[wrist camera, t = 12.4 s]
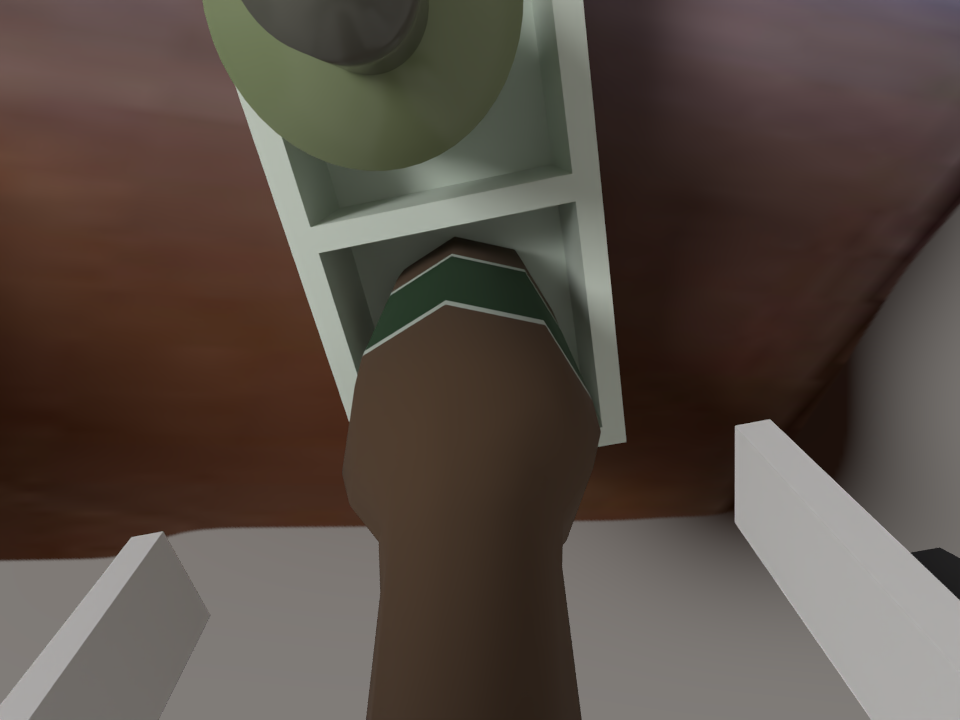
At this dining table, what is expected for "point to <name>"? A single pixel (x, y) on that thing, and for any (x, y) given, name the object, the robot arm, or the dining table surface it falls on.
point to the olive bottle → (368, 71)
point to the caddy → (468, 210)
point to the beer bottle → (470, 490)
